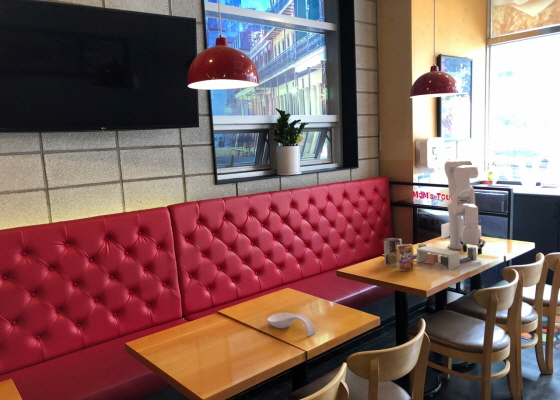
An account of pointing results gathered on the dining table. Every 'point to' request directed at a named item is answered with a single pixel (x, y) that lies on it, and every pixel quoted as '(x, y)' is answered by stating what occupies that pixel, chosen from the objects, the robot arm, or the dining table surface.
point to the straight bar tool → (418, 247)
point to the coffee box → (390, 251)
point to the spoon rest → (290, 321)
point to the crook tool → (470, 257)
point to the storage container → (448, 230)
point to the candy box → (404, 257)
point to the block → (432, 258)
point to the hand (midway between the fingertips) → (472, 253)
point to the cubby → (452, 255)
